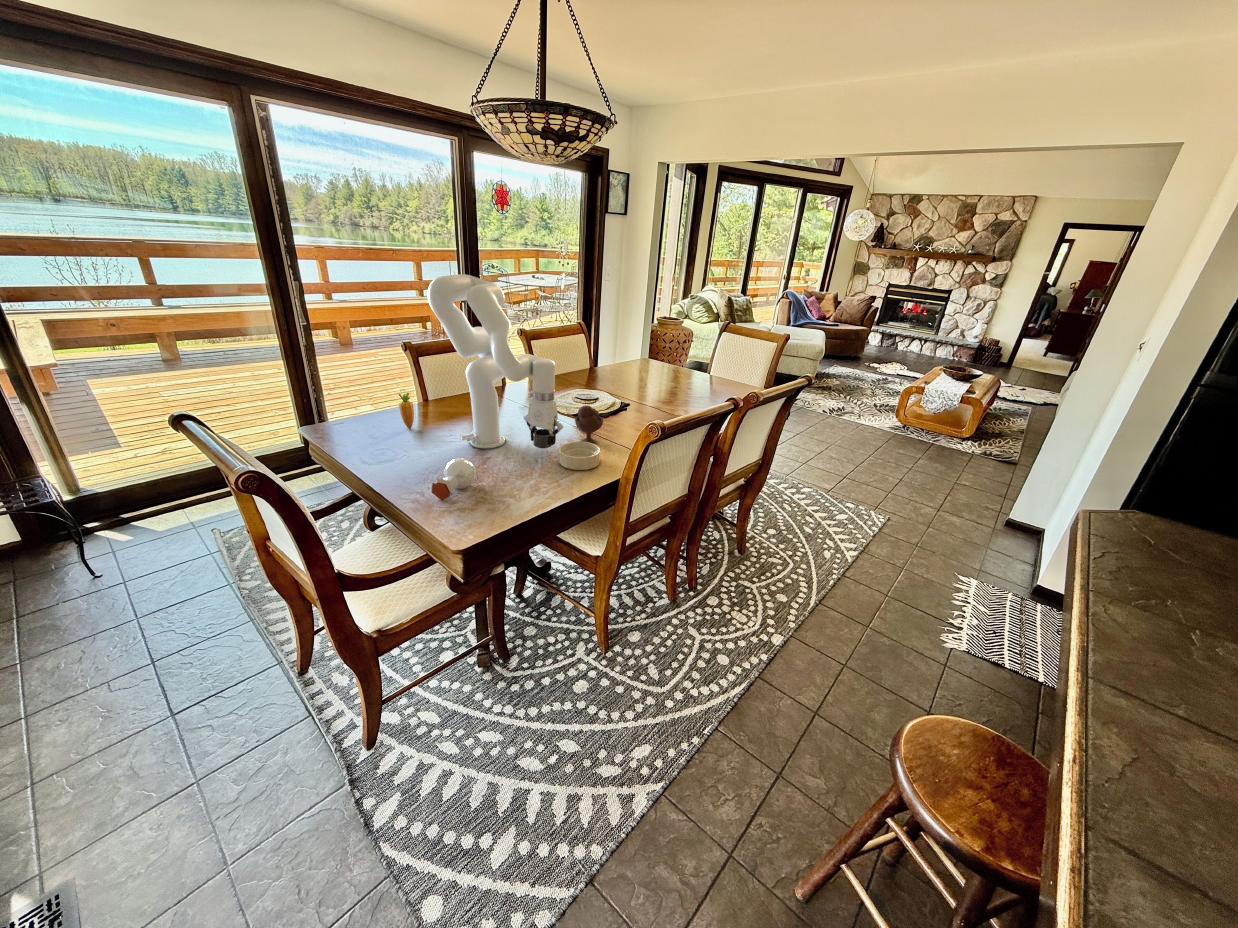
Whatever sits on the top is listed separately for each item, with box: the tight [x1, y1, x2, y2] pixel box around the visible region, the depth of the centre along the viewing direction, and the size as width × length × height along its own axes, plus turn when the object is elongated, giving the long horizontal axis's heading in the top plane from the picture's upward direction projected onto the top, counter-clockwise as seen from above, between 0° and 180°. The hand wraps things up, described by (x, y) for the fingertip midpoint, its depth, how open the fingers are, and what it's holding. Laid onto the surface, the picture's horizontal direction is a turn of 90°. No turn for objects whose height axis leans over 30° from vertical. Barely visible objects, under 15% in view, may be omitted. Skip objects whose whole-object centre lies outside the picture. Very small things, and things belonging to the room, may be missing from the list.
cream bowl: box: [558, 440, 601, 471], centre depth 168 cm, size 14×14×5 cm
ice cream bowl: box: [574, 404, 604, 445], centre depth 183 cm, size 11×11×15 cm
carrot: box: [397, 391, 415, 430], centre depth 186 cm, size 5×5×15 cm
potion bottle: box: [431, 457, 477, 501], centre depth 145 cm, size 9×10×15 cm
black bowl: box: [532, 428, 552, 449], centre depth 173 cm, size 7×7×5 cm
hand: (543, 441), depth 173 cm, fingers closed on black bowl, 7 cm apart
